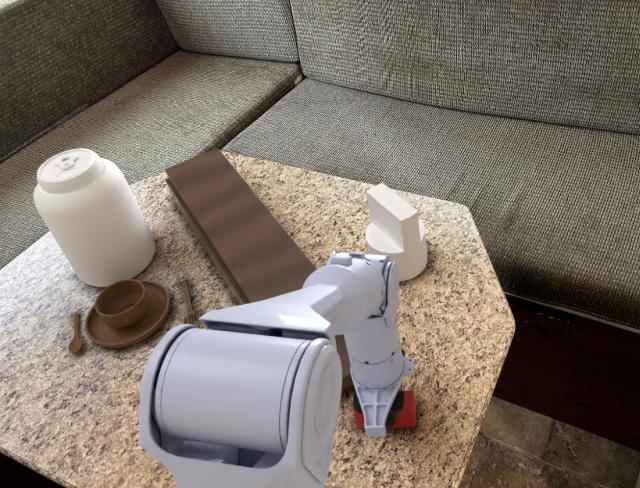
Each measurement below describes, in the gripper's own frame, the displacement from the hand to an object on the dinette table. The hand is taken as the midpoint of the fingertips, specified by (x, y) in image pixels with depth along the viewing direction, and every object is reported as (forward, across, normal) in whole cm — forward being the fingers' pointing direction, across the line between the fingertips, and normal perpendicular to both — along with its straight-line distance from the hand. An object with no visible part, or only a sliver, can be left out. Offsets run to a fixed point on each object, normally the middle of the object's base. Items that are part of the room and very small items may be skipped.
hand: (385, 411), depth 73 cm
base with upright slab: (+2, +26, -1) cm, 26 cm away
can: (+2, +29, +45) cm, 54 cm away
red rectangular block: (+1, 0, 0) cm, 1 cm away
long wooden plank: (+1, +26, +21) cm, 33 cm away
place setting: (+2, +13, +36) cm, 39 cm away
